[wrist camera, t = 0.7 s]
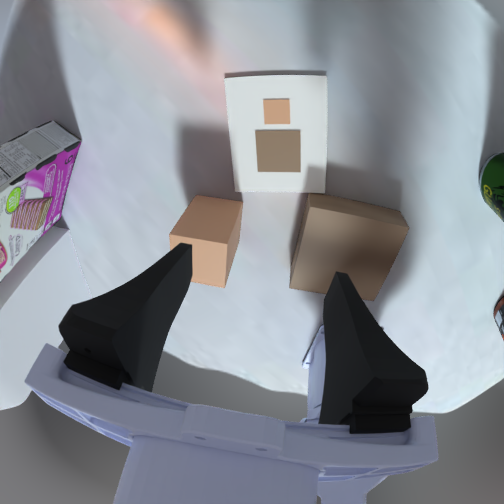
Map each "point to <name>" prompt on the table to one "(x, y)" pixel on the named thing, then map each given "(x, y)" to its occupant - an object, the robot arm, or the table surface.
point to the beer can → (493, 183)
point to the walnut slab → (346, 244)
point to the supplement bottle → (500, 316)
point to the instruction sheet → (278, 132)
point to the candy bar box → (32, 188)
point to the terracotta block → (210, 237)
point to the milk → (36, 308)
